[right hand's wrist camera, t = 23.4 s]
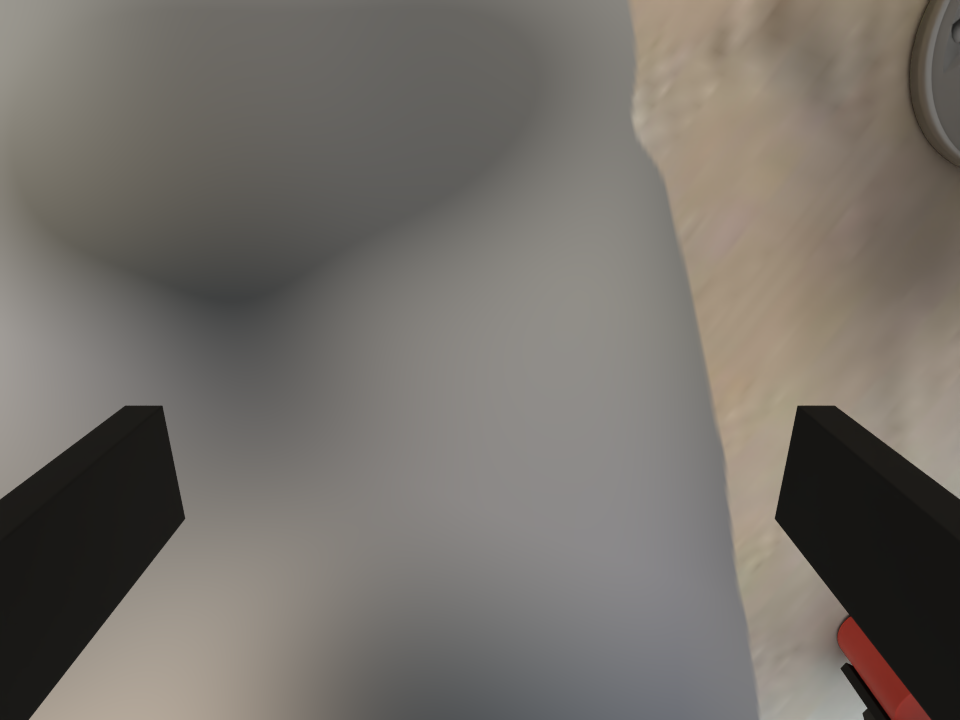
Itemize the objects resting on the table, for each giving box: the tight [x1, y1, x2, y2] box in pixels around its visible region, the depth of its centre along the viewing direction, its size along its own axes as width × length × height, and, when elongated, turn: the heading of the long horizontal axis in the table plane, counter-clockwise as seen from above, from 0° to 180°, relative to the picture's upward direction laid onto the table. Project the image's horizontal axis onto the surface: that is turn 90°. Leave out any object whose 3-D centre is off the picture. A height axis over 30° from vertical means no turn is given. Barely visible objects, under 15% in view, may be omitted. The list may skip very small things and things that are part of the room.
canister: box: [838, 616, 931, 720], centre depth 49 cm, size 6×6×8 cm
